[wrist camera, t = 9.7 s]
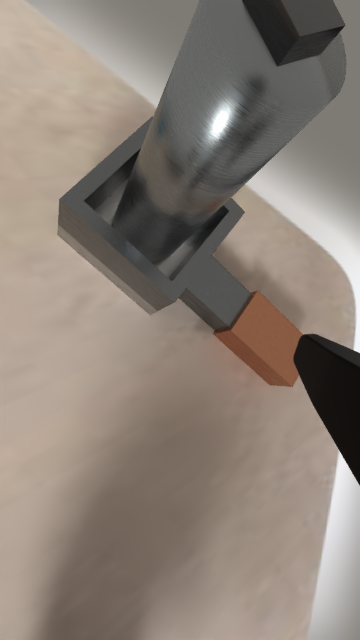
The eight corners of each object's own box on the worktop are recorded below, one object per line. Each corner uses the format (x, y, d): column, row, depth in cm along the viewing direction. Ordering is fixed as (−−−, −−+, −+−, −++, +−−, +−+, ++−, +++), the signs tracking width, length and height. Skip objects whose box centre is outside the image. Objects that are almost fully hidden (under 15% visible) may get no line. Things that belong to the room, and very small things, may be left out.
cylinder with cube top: (137, 274, 20) (291, 101, 7) (99, 211, 19) (187, -93, 7) (191, 245, 21) (396, 63, 9) (157, 186, 21) (317, -93, 8)
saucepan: (257, 407, 23) (302, 416, 19) (57, 234, 20) (59, 199, 15) (302, 328, 26) (350, 321, 22) (133, 163, 22) (152, 116, 18)
